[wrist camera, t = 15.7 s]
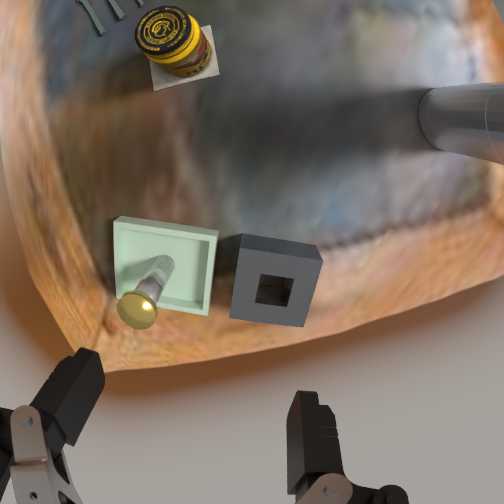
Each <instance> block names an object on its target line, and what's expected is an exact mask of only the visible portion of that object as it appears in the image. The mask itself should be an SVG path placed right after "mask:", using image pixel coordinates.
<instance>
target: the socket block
mask: <svg viewBox="0 0 504 504" xmlns="http://www.w3.org/2000/svg"><path fill="white" fill-rule="evenodd" d="M322 263H323V260H322V258H321V255H320V253H319V251H318V249H317V247H316V245H311V244H305V243H299V242H292V241H286V240H280V239H274V238H268V237H261V236H255V235H249V234H242V235H241V242H240V248H239V254H238V261H237V267H236V274H235V280H234V287H233V293H232V300H231V307H230V315H229V318H233V319H240V320H247V321H254V322H262V323H270V324H278V325H286V326H295V327H303V326H304V323H305V320H306V317H307V314H308V311H309V307H310V304H311V301H312V297H313V294H314V291H315V287H316V284H317V280H318V277H319V273H320V270H321V266H322ZM260 274H266V275H272V276H279V277H286V282H285V286H284V288H281V287H274V286H267V285H260V284H258V283H259V278H260Z"/></svg>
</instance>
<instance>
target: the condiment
mask: <svg viewBox="0 0 504 504" xmlns="http://www.w3.org/2000/svg"><path fill="white" fill-rule="evenodd" d="M135 40H136V43H137V45H138V47H139V48H140V49H141V50H142V51H143V52H144V54H145V55H146V57H148V58H149V62H150V68H151V75H152V81H153V88H154V91H156V90H159V89H163V88H166V87H170V86H173V85H177V84H181V83H185V82H190V81H194V80H198V79H202V78H207V77H212V76H216V75H220V74H219V69H218V63H217V58H216V52H215V47H214V41H213V36H212V31H211V25H209V26H205V27H200V26H199V24H198V22H197V21H196V20H195V19H194V18H193V17H192V16H190V15H188V14H187V13H186V12H185V11H183V9H180V8H178V7H176V6H160V7H158V8H155V9H152V10H151V11H149V12H147V13H146V14H145V15H144V16H143V17H142V19H141V20H140V22H139V23H138V25H137V27H136V29H135ZM165 71H168V72H165ZM169 72H170V74H169Z"/></svg>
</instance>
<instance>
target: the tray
mask: <svg viewBox="0 0 504 504" xmlns="http://www.w3.org/2000/svg"><path fill="white" fill-rule="evenodd" d="M218 235H219V230H216V229H209V228H203V227H196V226H189V225H182V224H176V223H169V222H162V221H155V220H148V219H141V218H133V217H126V216H120V217H119V218H117V219H116V220H115V221H114V264H115V282H116V296H117V298H118V299H121V297H122V296H123V295H124V294H125V293H126V292H128V291H132V290H135V288H136V287H137V285H138V284H139V282H140V281H141V280H142V278H143V277H144V275H145V274H146V272H147V271H148V270H149V268H150V267H151V265H152V264H153V263H154V261H155V260H156V258H157V257H158V256H160V255H168V256H170V257H171V258H172V259H173V260H174V262H175V270H174V271H173V273H172V275H171V277H170V279H169V281H168V283H167V284H166V286H165V288H164V290H163V292H162V294H161V296H160V298H159V299H158V301H157V303H156V306H157V307H161V308H167V309H172V310H178V311H183V312H189V313H195V314H201V315H207V316H208V313H209V309H210V303H211V293H212V285H213V276H214V267H215V259H216V251H217V243H218Z"/></svg>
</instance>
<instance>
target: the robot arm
mask: <svg viewBox="0 0 504 504" xmlns="http://www.w3.org/2000/svg"><path fill="white" fill-rule="evenodd" d="M419 122H420V126H421V129H422V131H423V134H424V135H425V137H426V138H427V140H428V141H429V142H430V143H431V144H432V145H433V146H434V147H436V148H438V149H440V150H443V151H448V152H453V153H457V154H462V155H466V156H471V157H475V158H479V159H483V160H487V161H491V162H494V163H498V164H502V165H504V82H496V83H481V84H469V85H459V86H450V87H442V88H435V89H432V90H430V91H428V92H427V93H426V94H425V95H424V96H423V98H422V100H421V102H420V106H419ZM104 385H105V375H104V371H103V367H102V364H101V360H100V356H99V353H98V352H96V351H92V350H89V349H86V348H83V347H81V348H79V349H78V351H77V352H76V353H75V355H74V356H73V357H71V356H68V357H66V358H65V359H63V360H62V361H60V363H59V364H58V365H57V366H56V368H55V369H54V372H52V373H51V375H50V376H49V379H47V380H46V382H45V383H44V385H43V386H42V388H41V389H40V391H39V392H38V393H37V395H36V396H35V398H34V400H33V401H32V402H31V404H30V405H29V406H28V405H23V406H20V407H18V408H16V409H15V410H10V409H5V408H1V407H0V502H1V499H2V496H3V494H4V491H5V489H6V486H7V484H8V481H9V479H10V476H11V478H12V483H13V488H14V492H15V497H16V501H17V504H83V503H82V500H81V498H80V497H79V495H78V493H77V492H76V490H75V488H74V485H73V482H72V479H71V476H70V473H69V469H68V466H67V462H66V459H65V455H64V452H63V449H62V448H63V446H64V444H65V443H67V444H69V445H71V446H74V445H75V443H76V441H77V439H78V437H79V435H80V433H81V431H82V429H83V427H84V425H85V423H86V421H87V419H88V417H89V415H90V413H91V411H92V409H93V408H94V406H95V404H96V401H97V400H98V398H99V396H100V394H101V392H102V391H103V388H104ZM286 426H287V427H286V428H287V487H288V488H287V493H288V494H290V495H291V494H292V495H293V494H294V495H296V503H295V504H409V501H408V496H407V494H406V492H405V491H404V490H403V489H402V488H401V487H399V486H396V485H386V486H383V487H382V488H380V489H379V490H378V489H372V488H367V487H361V486H358V485H355V484H353V483H352V482H350V481H349V480H348V479H347V477H346V476H345V474H344V471H343V466H342V459H341V452H340V445H339V439H338V432H337V429H336V421H335V415H334V414H333V412H332V411H331V409H330V408H329V406H328V405H319V400H318V394H317V392H314V391H299V390H298V391H297V392H296V395H295V397H294V399H293V402H292V405H291V407H290V410H289V412H288V416H287V425H286Z"/></svg>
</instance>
